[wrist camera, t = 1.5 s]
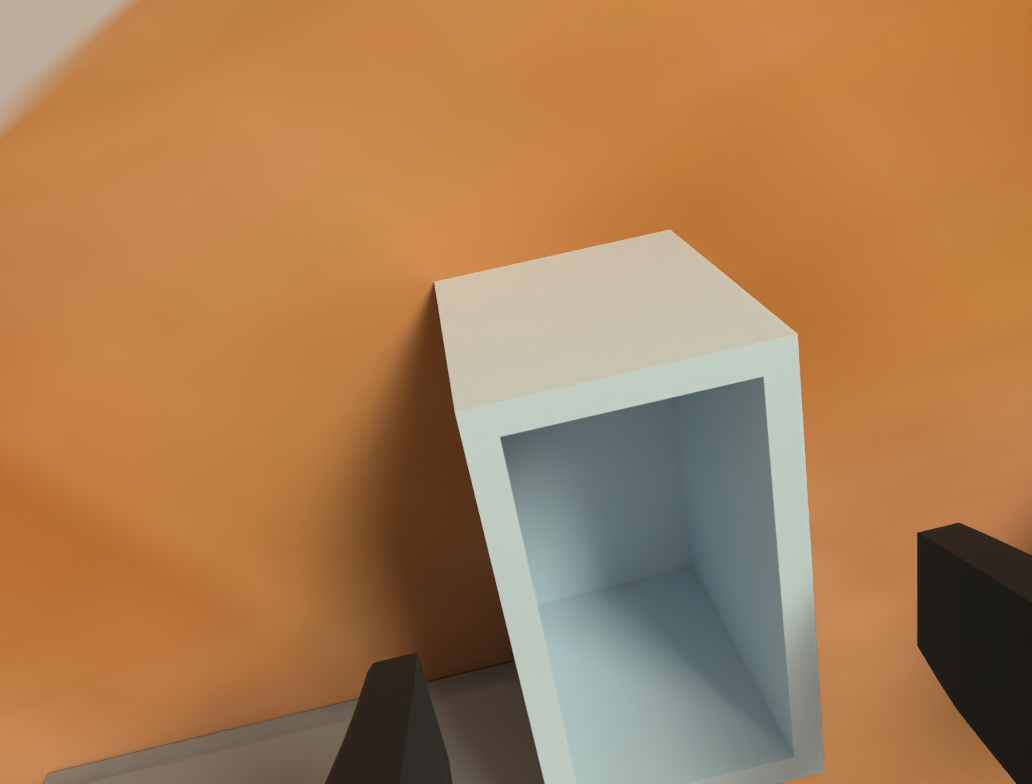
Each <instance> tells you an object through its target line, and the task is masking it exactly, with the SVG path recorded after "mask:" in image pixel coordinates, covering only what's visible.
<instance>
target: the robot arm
mask: <svg viewBox="0 0 1032 784" xmlns="http://www.w3.org/2000/svg"><path fill="white" fill-rule="evenodd" d="M917 646H918V647H919V649H920V651H921V652H922V654H923V656H924V657H925V659H926V661H927V662H928V664H929V666H930V667H931V669H932V671H933V672H934V674H935V676H936V677H937V679H938V681H939V682H940V684H941V685H942V687H943V689H944V690H945V692H946V693H947V695H948V696H949V698H950V699H951V701H952V703H953V704H954V706H955V707H956V709H957V710H958V711H959V713H960V714H961V715H962V716H963V718H964V719H965V720H966V722H967V723H968V724H969V725H970V727H971V728H972V729H973V730H974V732H975V733H976V734H977V735H978V737H979V738H980V739H981V740H982V742H983V743H984V744H985V745H986V747H987V748H988V749H989V750H990V752H991V753H992V754H993V755H994V757H995V758H996V759H997V760H998V761H999V763H1000V764H1001V765H1002V766H1003V768H1004V769H1005V770H1006V771H1007V773H1008V774H1009V775H1010V776H1011V777H1012V779H1013V780H1014V781H1015V782H1016V784H1032V555H1029V554H1027V553H1025V552H1023V551H1021V550H1019V549H1017V548H1014V547H1012V546H1010V545H1008V544H1006V543H1004V542H1002V541H999V540H997V539H995V538H993V537H991V536H988V535H986V534H984V533H982V532H980V531H977V530H975V529H973V528H970V527H968V526H965V525H963V524H960V523H956V524H952V525H948V526H943V527H939V528H935V529H931V530H927V531H923V532H918V533H917ZM325 784H452V777H451V769H450V762H449V758H448V754H447V751H446V748H445V744H444V741H443V738H442V734H441V731H440V728H439V724H438V721H437V718H436V714H435V711H434V708H433V704H432V701H431V698H430V694H429V691H428V688H427V684H426V681H425V678H424V674H423V671H422V668H421V664H420V661H419V658H418V654H417V653H413V654H409V655H405V656H401V657H397V658H393V659H388V660H384V661H380V662H376V663H373V665H372V666H371V668H370V669H369V670H368V672H367V676H366V679H365V682H364V685H363V688H362V691H361V694H360V697H359V700H358V703H357V706H356V708H355V711H354V714H353V716H352V719H351V722H350V724H349V727H348V729H347V732H346V735H345V737H344V740H343V742H342V745H341V747H340V749H339V752H338V754H337V756H336V759H335V761H334V763H333V766H332V768H331V770H330V773H329V775H328V777H327V780H326V782H325Z"/></svg>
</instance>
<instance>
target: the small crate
mask: <svg viewBox="0 0 1032 784" xmlns="http://www.w3.org/2000/svg"><path fill="white" fill-rule="evenodd" d="M434 284H435V291H436V297H437V303H438V310H439V316H440V322H441V329H442V335H443V341H444V347H445V354H446V360H447V366H448V373H449V379H450V385H451V392H452V398H453V404H454V411H455V415H456V419H457V423H458V428H459V432H460V436H461V440H462V444H463V448H464V452H465V456H466V461H467V465H468V469H469V473H470V477H471V481H472V485H473V489H474V494H475V498H476V502H477V506H478V510H479V514H480V518H481V522H482V527H483V531H484V535H485V539H486V543H487V547H488V551H489V555H490V560H491V564H492V568H493V572H494V576H495V580H496V584H497V589H498V593H499V597H500V601H501V605H502V609H503V613H504V617H505V622H506V626H507V630H508V634H509V638H510V642H511V646H512V650H513V655H514V659H515V663H516V667H517V671H518V675H519V679H520V683H521V688H522V692H523V696H524V700H525V704H526V708H527V712H528V716H529V721H530V725H531V729H532V733H533V737H534V741H535V745H536V749H537V754H538V758H539V762H540V766H541V770H542V774H543V778H544V783H545V784H778V783H782V782H786V781H790V780H794V779H798V778H802V777H806V776H810V775H815V774H819V773H823V772H825V767H824V751H823V735H822V719H821V703H820V687H819V671H818V655H817V639H816V623H815V607H814V591H813V575H812V559H811V543H810V527H809V511H808V495H807V479H806V463H805V447H804V431H803V415H802V399H801V383H800V367H799V351H798V335H797V333H796V332H795V331H793V330H792V329H791V328H790V327H788V326H787V325H786V324H785V323H784V322H782V321H781V320H780V319H779V318H777V317H776V316H775V315H774V314H773V313H771V312H770V311H769V310H768V309H767V308H765V307H764V306H763V305H762V304H760V303H759V302H758V301H757V300H756V299H754V298H753V297H752V296H751V295H749V294H748V293H747V292H746V291H745V290H743V289H742V288H741V287H740V286H738V285H737V284H736V283H735V282H734V281H732V280H731V279H730V278H729V277H727V276H726V275H725V274H724V273H723V272H721V271H720V270H719V269H718V268H716V267H715V266H714V265H713V264H712V263H710V262H709V261H708V260H707V259H705V258H704V257H703V256H702V255H701V254H699V253H698V252H697V251H696V250H694V249H693V248H692V247H691V246H690V245H688V244H687V243H686V242H685V241H683V240H682V239H681V238H680V237H679V236H677V235H676V234H675V233H674V232H672V231H671V230H666V231H662V232H657V233H653V234H648V235H644V236H639V237H635V238H630V239H625V240H621V241H616V242H612V243H607V244H603V245H598V246H594V247H589V248H585V249H580V250H576V251H571V252H567V253H562V254H558V255H553V256H549V257H544V258H540V259H535V260H531V261H526V262H522V263H517V264H513V265H508V266H504V267H499V268H495V269H490V270H486V271H481V272H477V273H472V274H468V275H463V276H459V277H454V278H450V279H445V280H441V281H436V282H434Z"/></svg>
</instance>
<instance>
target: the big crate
mask: <svg viewBox="0 0 1032 784" xmlns="http://www.w3.org/2000/svg"><path fill="white" fill-rule="evenodd" d="M426 684H427V688H428V691H429V694H430V698H431V701H432V704H433V708H434V711H435V714H436V718H437V721H438V724H439V728H440V731H441V734H442V738H443V741H444V744H445V748H446V751H447V754H448V758H449V762H450V769H451V777H452V784H545V783H544V778H543V774H542V770H541V766H540V762H539V758H538V754H537V749H536V745H535V741H534V737H533V733H532V729H531V725H530V721H529V716H528V712H527V708H526V704H525V700H524V696H523V692H522V688H521V683H520V679H519V675H518V671H517V667H516V663H515V661H514V662H510V663H505V664H501V665H497V666H493V667H489V668H485V669H480V670H476V671H472V672H468V673H464V674H460V675H455V676H451V677H447V678H443V679H439V680H435V681H430V682H426ZM358 700H359V699H355V700H351V701H347V702H343V703H339V704H335V705H331V706H326V707H322V708H318V709H314V710H310V711H306V712H301V713H297V714H293V715H289V716H285V717H281V718H276V719H272V720H268V721H264V722H260V723H256V724H251V725H247V726H243V727H239V728H235V729H231V730H226V731H222V732H218V733H214V734H210V735H206V736H201V737H197V738H193V739H189V740H185V741H181V742H176V743H172V744H168V745H164V746H160V747H156V748H151V749H147V750H143V751H139V752H135V753H131V754H127V755H122V756H118V757H114V758H110V759H106V760H102V761H97V762H93V763H89V764H85V765H81V766H77V767H72V768H68V769H64V770H60V771H56V772H52V773H48V774H47V776H46V778H45V781H44V783H43V784H325V782H326V780H327V777H328V775H329V773H330V770H331V768H332V766H333V763H334V761H335V759H336V756H337V754H338V752H339V749H340V747H341V745H342V742H343V740H344V737H345V735H346V732H347V729H348V727H349V724H350V722H351V719H352V716H353V714H354V711H355V708H356V706H357V703H358Z"/></svg>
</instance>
